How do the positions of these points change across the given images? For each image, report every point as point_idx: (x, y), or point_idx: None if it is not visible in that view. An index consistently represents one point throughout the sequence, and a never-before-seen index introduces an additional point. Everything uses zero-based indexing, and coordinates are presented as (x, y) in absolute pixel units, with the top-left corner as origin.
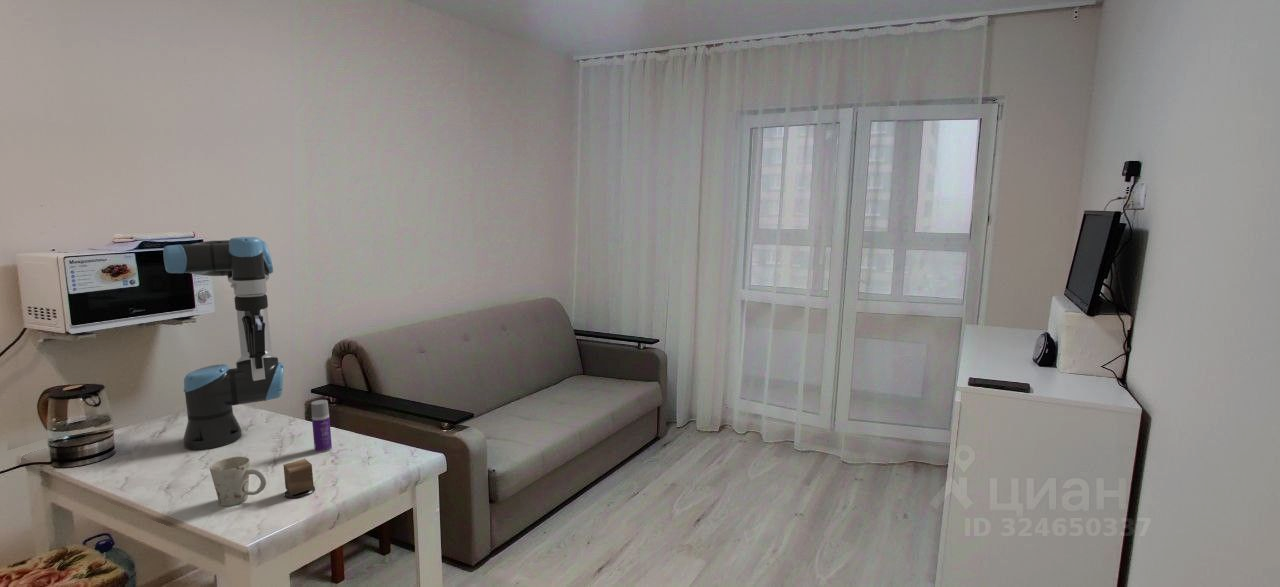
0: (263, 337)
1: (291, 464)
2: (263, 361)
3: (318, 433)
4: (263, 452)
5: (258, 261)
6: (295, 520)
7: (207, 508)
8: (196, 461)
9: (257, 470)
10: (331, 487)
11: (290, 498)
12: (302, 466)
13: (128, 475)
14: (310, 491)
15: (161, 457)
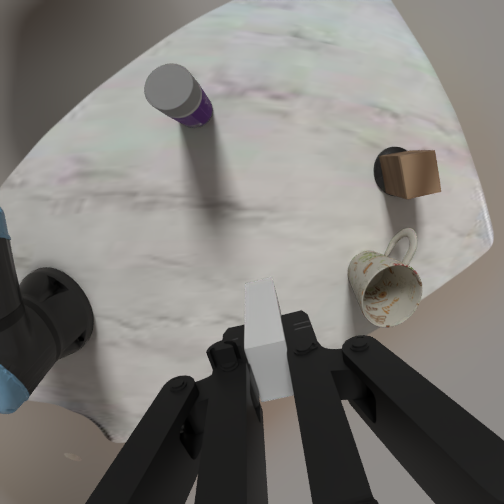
0: (476, 427)
1: (415, 184)
2: (280, 320)
3: (205, 110)
4: (148, 227)
5: None
6: (474, 190)
7: None
8: (144, 333)
9: (416, 246)
10: (403, 122)
11: None
12: (435, 167)
13: None
14: None
15: (107, 373)
